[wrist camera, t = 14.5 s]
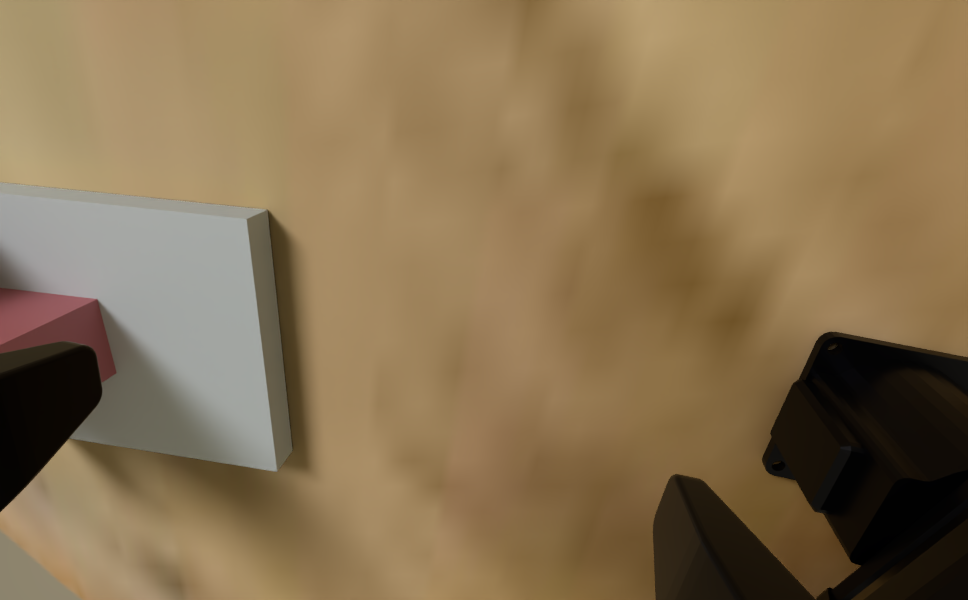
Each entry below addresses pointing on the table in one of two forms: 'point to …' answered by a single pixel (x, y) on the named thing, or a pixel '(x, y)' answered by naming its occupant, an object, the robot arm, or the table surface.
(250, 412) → the shelf
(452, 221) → the table surface
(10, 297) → the tall pink rectangular prism
